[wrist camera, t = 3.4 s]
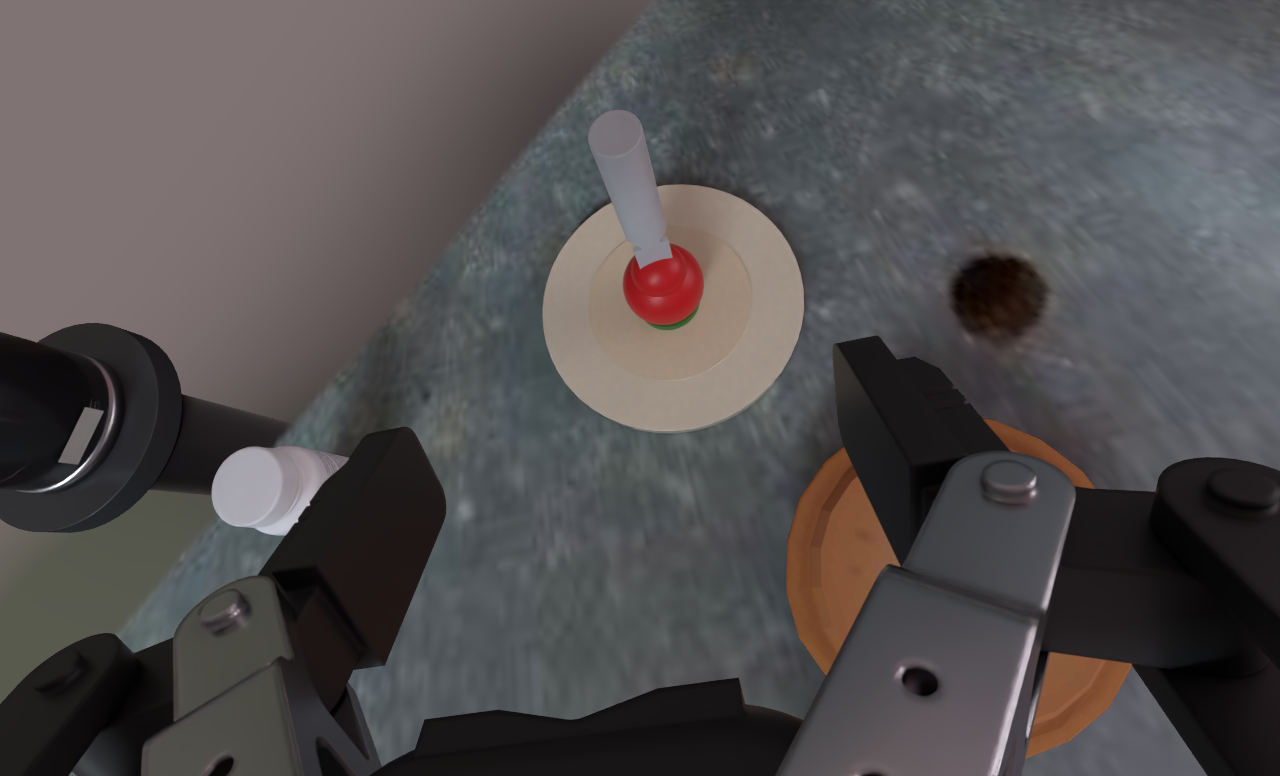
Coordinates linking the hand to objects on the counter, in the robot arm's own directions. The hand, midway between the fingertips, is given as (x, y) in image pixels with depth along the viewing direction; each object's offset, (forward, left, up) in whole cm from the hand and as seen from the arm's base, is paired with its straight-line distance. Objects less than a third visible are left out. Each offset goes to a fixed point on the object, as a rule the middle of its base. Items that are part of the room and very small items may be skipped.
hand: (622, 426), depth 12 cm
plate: (-5, +11, -24) cm, 27 cm away
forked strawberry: (-5, +11, -24) cm, 27 cm away
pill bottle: (-22, -5, -25) cm, 33 cm away
